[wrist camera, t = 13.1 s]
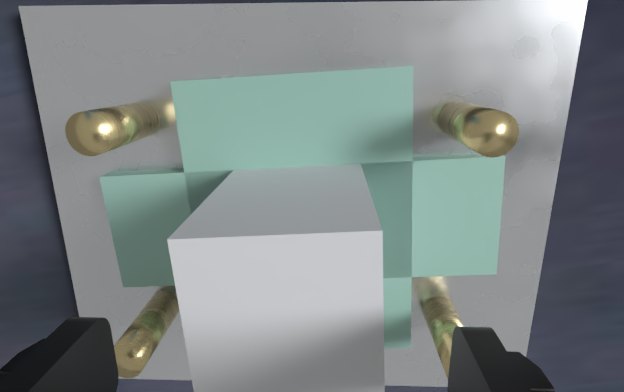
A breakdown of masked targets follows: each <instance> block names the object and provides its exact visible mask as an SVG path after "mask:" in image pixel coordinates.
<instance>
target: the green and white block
mask: <svg viewBox="0 0 624 392" xmlns="http://www.w3.org/2000/svg"><path fill="white" fill-rule="evenodd" d="M413 69H414V66H405V67H389V68H374V69H358V70H342V71H327V72H311V73H296V74H280V75H264V76H249V77H233V78H217V79H202V80H186V81H172V82H170V84H171V91H172V97H173V104H174V110H175V117H176V123H177V129H178V136H179V142H180V149H181V155H182V162H183V168H181V169H162V170H142V171H123V172H109V173H107V174H104V175H102V176H100V177H99V178H100V183H101V188H102V192H103V197H104V201H105V206H106V211H107V215H108V220H109V224H110V229H111V234H112V238H113V243H114V247H115V252H116V257H117V261H118V266H119V270H120V275H121V280H122V284H123V287H149V286H175V287H176V293H177V299H178V304H179V310H180V316H181V322H182V327H183V333H184V339H185V344H186V350H187V356H188V361H189V367H190V373H191V378H192V384H193V390H194V392H385V379H384V349H387V348H411V283H412V277H435V276H463V275H492V274H497V263H498V249H499V236H500V223H501V210H502V196H503V183H504V170H505V157H506V156H504V155H502V156H499V157H494V158H491V157H485V156H483V155H481V154H479V153H472V154H452V155H433V156H414V157H413Z"/></svg>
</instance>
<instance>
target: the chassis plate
mask: <svg viewBox="0 0 624 392" xmlns="http://www.w3.org/2000/svg"><path fill="white" fill-rule="evenodd" d="M587 1H588V0H480V1H398V2H317V3H236V4H155V5H74V6H19V11H20V16H21V21H22V26H23V31H24V36H25V42H26V47H27V52H28V57H29V62H30V67H31V72H32V77H33V83H34V88H35V93H36V98H37V103H38V108H39V113H40V118H41V124H42V129H43V134H44V139H45V144H46V149H47V154H48V159H49V164H50V170H51V175H52V180H53V185H54V190H55V195H56V200H57V205H58V211H59V216H60V221H61V226H62V231H63V236H64V241H65V246H66V252H67V257H68V262H69V267H70V272H71V277H72V282H73V287H74V293H75V298H76V303H77V308H78V313H79V317H100V318H106V319H107V320H108V321H109V323H110V327H111V332H112V338H113V344H114V350H115V356H116V362H117V367H118V378H119V379H158V380H192V378H191V373H190V367H189V361H188V356H187V350H186V344H185V339H184V333H183V327H182V322H181V316H180V310H179V304H178V299H177V293H176V287H175V286H149V287H123V284H122V280H121V275H120V270H119V266H118V261H117V257H116V252H115V247H114V243H113V238H112V234H111V229H110V224H109V220H108V215H107V211H106V206H105V201H104V197H103V192H102V188H101V183H100V178H99V177H100V176H102V175H104V174H107V173H109V172H123V171H142V170H162V169H181V168H183V162H182V155H181V149H180V142H179V136H178V129H177V123H176V117H175V110H174V104H173V97H172V91H171V84H170V82H172V81H186V80H202V79H217V78H233V77H249V76H264V75H280V74H296V73H311V72H327V71H342V70H358V69H374V68H389V67H405V66H414V69H413V157H414V156H433V155H452V154H472V153H479V154H481V155H483V156H485V157H491V158H494V157H499V156H502V155H504V156H506V157H505V170H504V183H503V196H502V210H501V223H500V236H499V249H498V263H497V274H492V275H463V276H435V277H412V283H411V348H387V349H384V379H385V385H393V386H432V387H448V376H449V366H450V356H451V347H452V337H453V331H454V329H455V327H457V326H458V327H491V328H492V329H493V330H494V331H495V333H496V334H497V336H498V338H499V339H500V341H501V343H502V344H503V346H504V347H505V349H506V351H510V352H520V353H521V354H522V355H524V356H525V357H526V353H527V348H528V342H529V336H530V330H531V325H532V319H533V313H534V307H535V302H536V296H537V290H538V284H539V278H540V273H541V267H542V261H543V255H544V250H545V244H546V238H547V232H548V227H549V221H550V215H551V209H552V203H553V198H554V192H555V186H556V180H557V175H558V169H559V163H560V157H561V152H562V146H563V140H564V134H565V128H566V123H567V117H568V111H569V105H570V100H571V94H572V88H573V82H574V76H575V71H576V65H577V59H578V53H579V48H580V42H581V36H582V30H583V25H584V19H585V13H586V7H587Z"/></svg>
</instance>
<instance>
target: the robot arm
mask: <svg viewBox="0 0 624 392" xmlns="http://www.w3.org/2000/svg"><path fill="white" fill-rule="evenodd" d="M117 385H118V367H117V362H116V356H115V350H114V344H113V338H112V332H111V327H110V323H109V321H108V320H107V319H106V318H100V317H70V318H68V319H67V320H66V321H64V322H63V323H62V324H61V325H60V326H59V327H58V328H57V329H56V330H55V331H54V332H53V333H51V334H50V335H49V336H48V337H47V338H46V339H42V340H40V341H39V342H37V343H35V344H34V345H32V346H30V347H28V348H27V349H25V350H23V351H21V352H20V353H18V354H17V355H16V356H15V357H14V358H12V359H11V360H10V361H9V362H8V363H7V364H6V365H5V366H4V367H2V368H1V369H0V392H116V389H117ZM448 392H555V391H554V388H553V386H552V385H551V383H550V382H549V380H548V379H547V377H546V376H545V375H544V373H543V372H542V370H541V369H540V368H539V367H538V366H536V365H535V364H534V363H533V362H531V361H530V360H529V359H527V358H526V357H525V356H524V355H522V354H521V353H520V352H510V351H506V349H505V347H504V346H503V344H502V343H501V341H500V339H499V338H498V336H497V334H496V333H495V331H494V330H493V329H492V328H491V327H458V326H457V327H455V329H454V331H453V337H452V347H451V356H450V366H449V376H448Z"/></svg>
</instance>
